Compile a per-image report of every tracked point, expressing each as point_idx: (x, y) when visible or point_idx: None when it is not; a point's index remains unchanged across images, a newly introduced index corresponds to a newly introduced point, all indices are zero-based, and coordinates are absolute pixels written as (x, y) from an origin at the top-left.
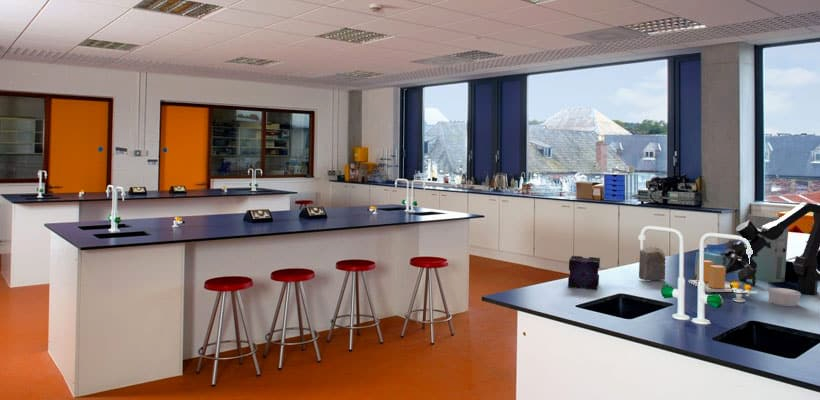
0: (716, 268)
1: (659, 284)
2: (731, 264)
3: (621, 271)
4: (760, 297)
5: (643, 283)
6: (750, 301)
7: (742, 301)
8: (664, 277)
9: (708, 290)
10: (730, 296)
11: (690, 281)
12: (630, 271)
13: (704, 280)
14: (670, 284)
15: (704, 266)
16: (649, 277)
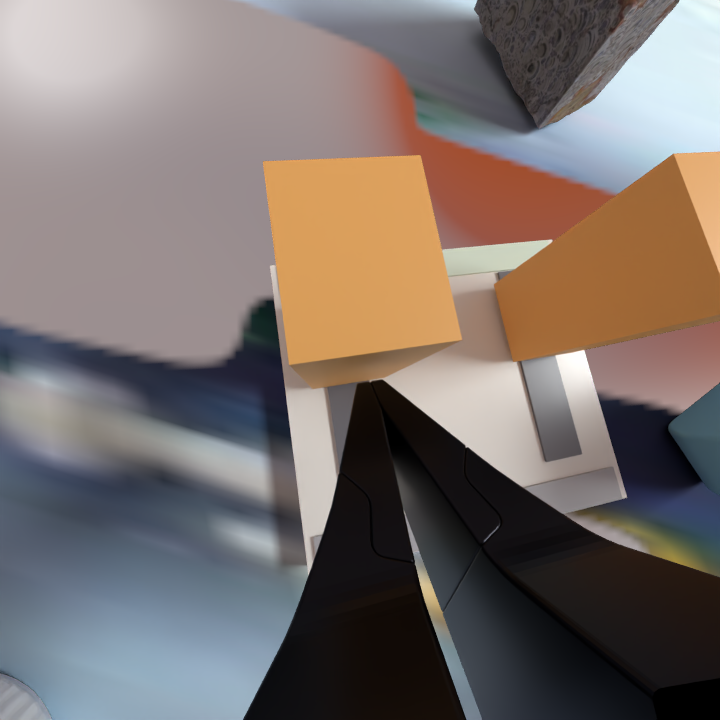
0: (270, 214)
1: (428, 79)
2: (358, 511)
3: (682, 15)
4: (179, 631)
5: (426, 12)
6: (10, 492)
7: (4, 426)
8: (548, 110)
9: (271, 271)
10: (173, 389)
11: (522, 244)
12: (703, 53)
13: (507, 307)
14: (449, 134)
15: (615, 235)
16: (491, 16)
